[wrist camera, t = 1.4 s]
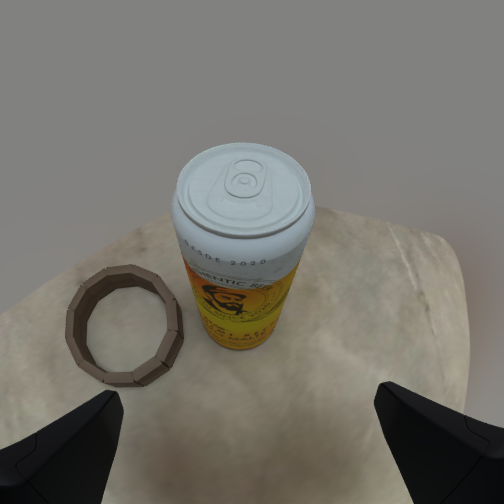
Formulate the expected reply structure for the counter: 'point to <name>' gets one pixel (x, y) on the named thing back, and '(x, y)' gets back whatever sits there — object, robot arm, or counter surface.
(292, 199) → the beer can
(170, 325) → the collar
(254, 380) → the counter surface
